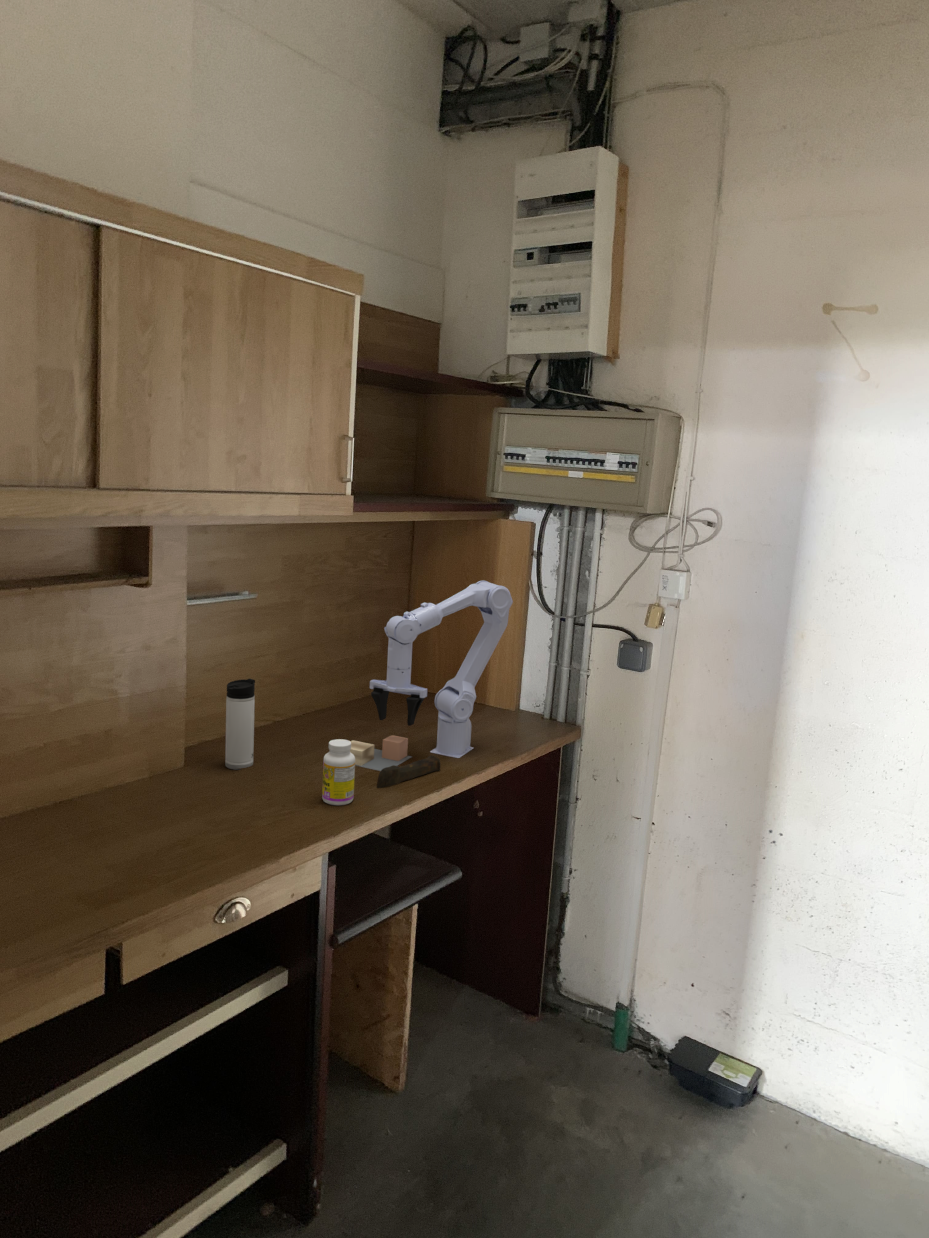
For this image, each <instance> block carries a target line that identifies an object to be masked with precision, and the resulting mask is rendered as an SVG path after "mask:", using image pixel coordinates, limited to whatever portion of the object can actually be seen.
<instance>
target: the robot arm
mask: <svg viewBox="0 0 929 1238" xmlns="http://www.w3.org/2000/svg"><path fill="white" fill-rule="evenodd" d="M513 603H514V601H513V598H512V594H511V592H510V590H509V589H508V587H506V586H504V585H498V584H495V583H492V582H489V581H487V580H484V579H483V580H479V581H477V582H475V583H471V584H469V586H467V587H466V588H464V589H463V590H461V591H459V592H457V593H455V594H454V595H452V596H450V597H449V598H446V599H444V600H442V601H441V602H439V603H436V604H435V603H432V602H422V603H420V607H418V608H415V609H412V610H411V611H405V612H404V613H403V615H402V616H401V615H395V616H392V617H391V618H389V620H388V621H387V623H386V626H384V628H383V629H384V633H385V634H386V637H387V638H388V645H387V665H386V666H387V667H386V680H383V679H382V680H381V679H371V680H370V681H369V689H371V690H372V691H371V694H370V695H371V698H372V699H373V701H374V704H375V706H376V709H377V714H378V718H379V721H383V720H386V719H387V711H388V708H387V707H388V701H389V700H388V699H389V694H390V692H391V693H397V694H402V695H408V696H409V697H406V699H405V701H406V705H407V719H406V720H407V721H406V724H407V726H408V727H409V726H410V727H411V726H412V725H414V724H415V720H416V717H417V714H418V711H419V709H420V707H421V705H422V703H423V701H425V698H427V697H428V688H425V687H422V686H418V685H415V684H413V683H411V682H412V681H411V680H412V679H411V678H412V677H411V676H412V662H413V661H412V659H413V642H414V641H415V640H416V639H417V637H418V636H419V635H420V634H422V633H424V632H427V631H429V630H431V629H432V628H435V627H436V626H439V625H440V624H441V623H442V620H443V618H444V617H447V616H449V615H451V614H454V613H456V612H458V611H460V610H463V609H466V608H469V607H471V606H472V607H477V609H478V610H479V611H480V613H481V616H482V619H483V623H482V626H481V627H480V630H479V631H478V634H477V635H476V637H475V639H474V641H473V643H472V645H471V647H470V648H469V650H468V652H467V654H466V656H465V658H464V660H463V661H462V663H461V665H460V668H458V669H459V670H457V673H456V675H455V676H454V677H453V678H451V679H448V680H447V682H446V683H445V684H444V686H443V687H442V688H441V689H440V690H439V691H438V692H437V693H436V694H435V696H434V706H435V708H436V709H437V711H438V714H437V715H438V716H437V732H436V733H437V736H436V737H437V738H436V747H435V748H433V749H432V750H430V751H429V752H430V753H431V754H436V755H441V756H445V757H451V758H454V759H455V758H456V759H460V758H462V757H463V756H464V755H466V754H468V753H469V752H471V751H472V750H473V749H474V747H472V746H471V739H472V721H471V720H470V717H471V715H472V714H473V711H474V703H475V702H476V700H477V693H476V689H475V687H476V686H477V683H478V681H479V680H480V678H481V676H482V674H483V672H484V670H485V668H486V666H487V665H488V663H489V661H490V659H491V657H492V655H493V653H494V651H495V649H496V648H497V646H498V644H499V642H500V640H501V639H502V636H503V634H504V632H505V631H506V629H507V627H508V623H509V615H510V609H511V607H512V605H513Z"/></svg>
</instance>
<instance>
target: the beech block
mask: <svg viewBox="0 0 929 1238" xmlns="http://www.w3.org/2000/svg"><path fill="white" fill-rule="evenodd" d="M349 741H350V740H349ZM350 742H351V750H350V752H351V753H352V754H353V755H354V756H355V765H360V766H362V765H363V764H365V763H367V762H369V761H371V760H372V759H374V749H375V744H373V743H368V742H362V741H360V740H359V741H358V740H353V739H352V740H351V741H350ZM360 766H359V767H360Z"/></svg>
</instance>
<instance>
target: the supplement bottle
mask: <svg viewBox="0 0 929 1238" xmlns="http://www.w3.org/2000/svg"><path fill="white" fill-rule="evenodd" d="M327 747H328V750H329V751H328V752H327V753H325V754H324V756H323V763H322V764H323V765H322V769H323V770H322V787H321V789H322V790H321V791H322V793H321V796H322V797H321V798H322V800H323V802H324V803H325V804H328V805H330V806H345V805H349V804H350V803H352V802H353V800H354V797H355V796H354V795H355V777H356V776H355V775H356V774H355V773H356V766H355V756H354V755H353V754H352V753H351V752H350V750H351V742H350V740H348V739H342V738H341V739H340V738H338V739H336V738H335V739H331V740H330V741H329V742H328V746H327Z"/></svg>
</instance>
